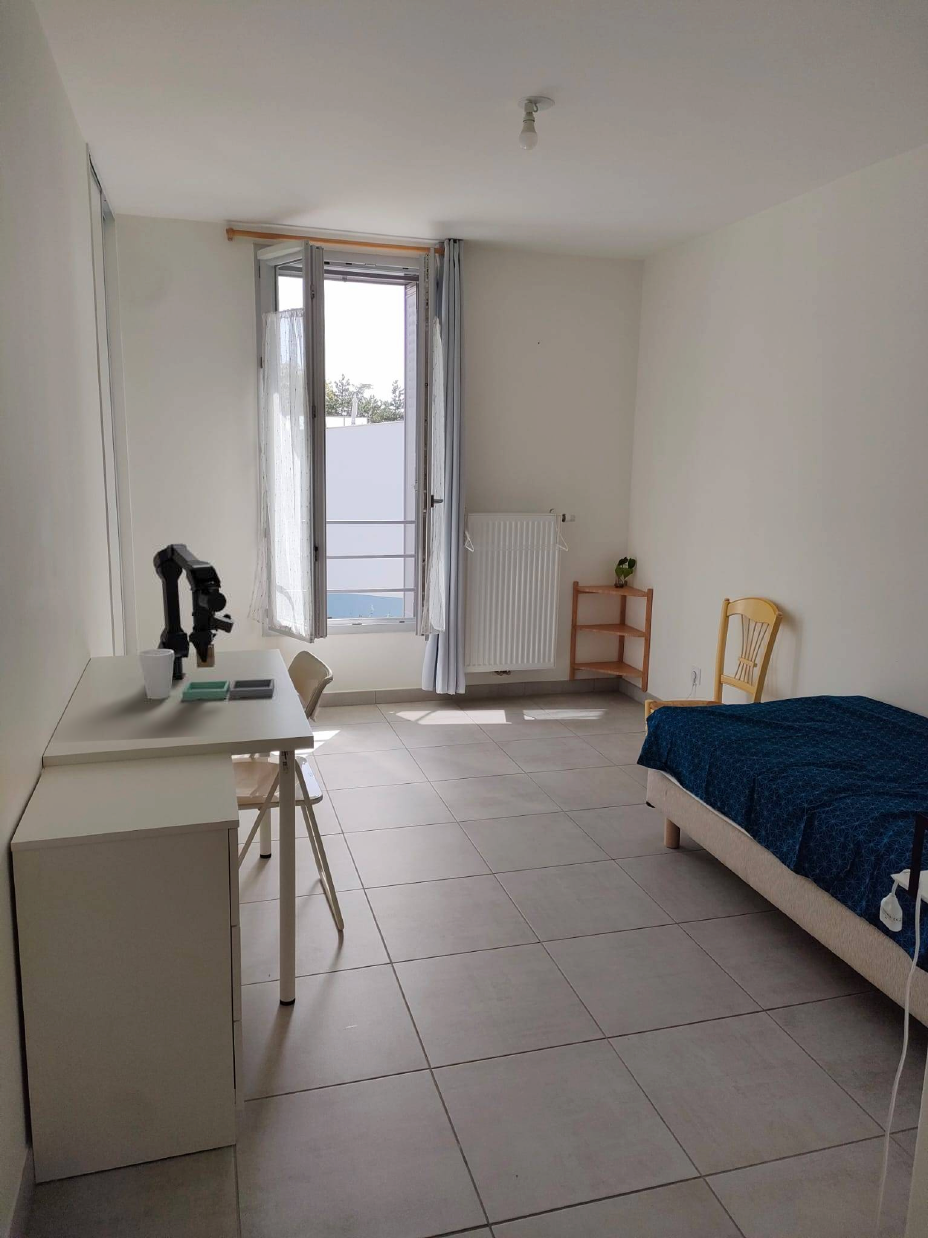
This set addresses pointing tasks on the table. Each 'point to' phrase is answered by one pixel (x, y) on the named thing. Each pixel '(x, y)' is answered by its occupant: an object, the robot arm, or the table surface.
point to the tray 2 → (252, 688)
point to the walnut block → (210, 658)
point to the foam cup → (157, 672)
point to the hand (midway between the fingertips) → (205, 660)
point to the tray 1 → (206, 690)
